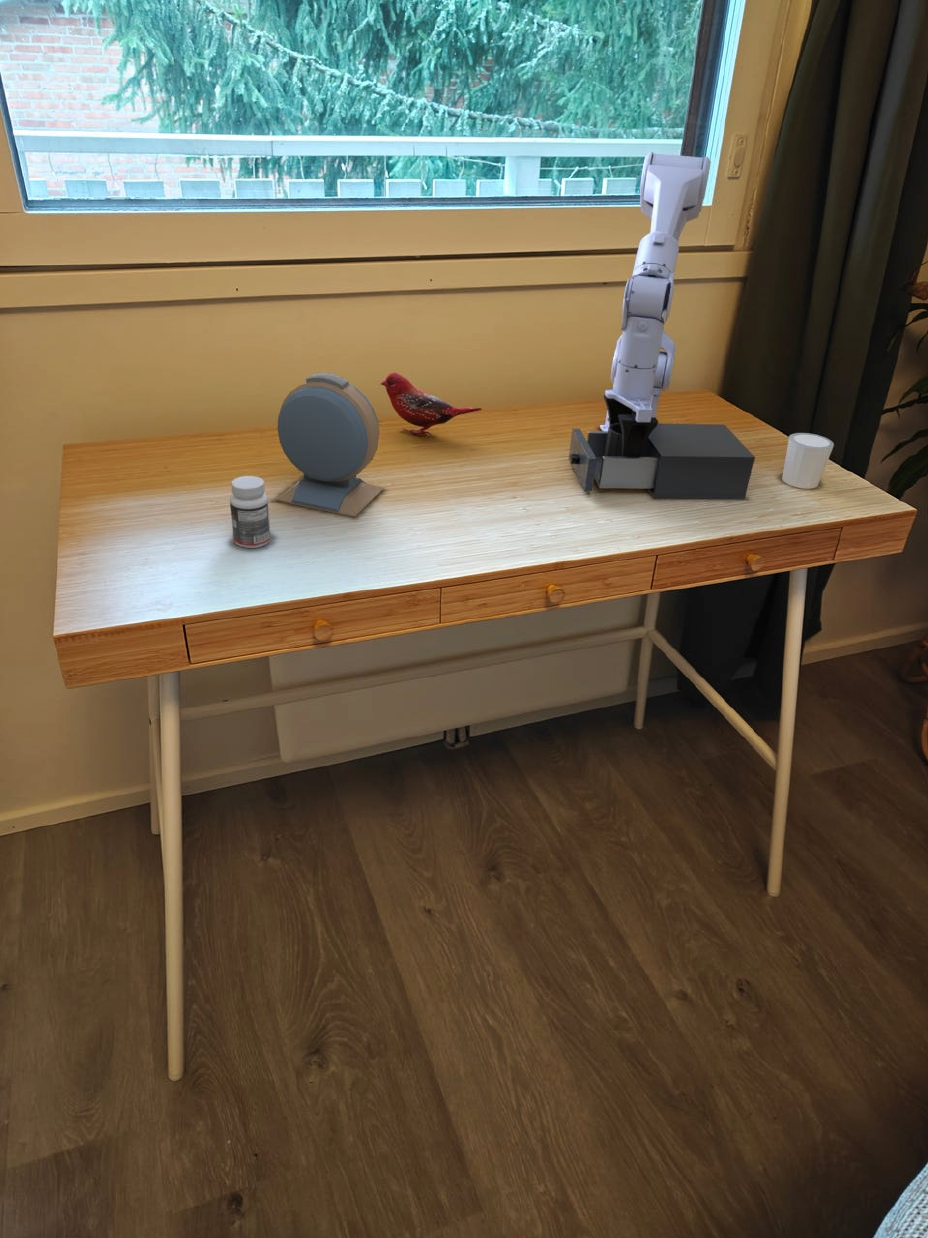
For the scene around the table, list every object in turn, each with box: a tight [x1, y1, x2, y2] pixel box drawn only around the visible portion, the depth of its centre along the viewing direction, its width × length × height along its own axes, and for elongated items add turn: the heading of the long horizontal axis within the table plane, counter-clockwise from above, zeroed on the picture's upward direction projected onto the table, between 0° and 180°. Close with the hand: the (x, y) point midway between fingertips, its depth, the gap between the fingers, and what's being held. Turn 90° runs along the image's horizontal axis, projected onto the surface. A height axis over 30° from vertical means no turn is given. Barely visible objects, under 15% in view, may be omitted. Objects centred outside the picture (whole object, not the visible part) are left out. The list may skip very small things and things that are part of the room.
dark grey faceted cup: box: [604, 423, 642, 457], centre depth 137 cm, size 5×5×6 cm
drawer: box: [568, 428, 660, 492], centre depth 138 cm, size 15×12×5 cm
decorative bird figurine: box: [380, 372, 483, 436], centre depth 148 cm, size 3×18×10 cm, turn 74°
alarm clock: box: [275, 372, 384, 518], centre depth 125 cm, size 14×10×18 cm
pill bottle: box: [229, 475, 271, 549], centre depth 115 cm, size 5×5×8 cm
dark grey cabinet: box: [647, 422, 756, 500], centre depth 140 cm, size 14×13×7 cm
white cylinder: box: [781, 432, 835, 490], centre depth 142 cm, size 7×7×7 cm
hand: (623, 450), depth 137 cm, fingers open, 7 cm apart
